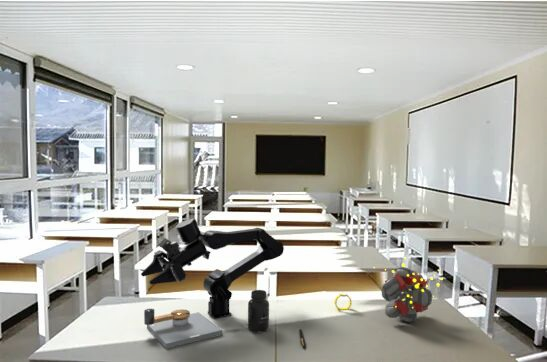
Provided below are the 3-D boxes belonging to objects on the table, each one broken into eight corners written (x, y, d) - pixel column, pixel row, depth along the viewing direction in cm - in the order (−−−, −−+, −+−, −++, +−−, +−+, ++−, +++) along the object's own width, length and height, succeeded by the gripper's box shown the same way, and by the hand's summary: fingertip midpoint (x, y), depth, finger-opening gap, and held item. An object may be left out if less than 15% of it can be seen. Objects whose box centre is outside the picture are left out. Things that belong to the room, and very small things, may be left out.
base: (198, 316, 147) (198, 306, 146) (222, 334, 132) (222, 323, 131) (146, 327, 137) (146, 317, 137) (166, 349, 122) (166, 337, 121)
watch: (349, 308, 156) (350, 292, 156) (351, 311, 153) (353, 295, 153) (333, 307, 156) (334, 291, 155) (335, 310, 153) (336, 294, 152)
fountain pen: (298, 329, 136) (298, 325, 136) (301, 329, 136) (301, 325, 136) (302, 350, 122) (302, 345, 122) (306, 350, 122) (306, 345, 122)
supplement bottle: (266, 333, 133) (266, 296, 132) (245, 331, 134) (245, 294, 133) (270, 325, 139) (271, 289, 139) (250, 323, 141) (250, 288, 140)
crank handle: (185, 311, 141) (185, 299, 140) (192, 317, 136) (192, 305, 135) (141, 320, 133) (141, 308, 132) (147, 327, 128) (147, 314, 127)
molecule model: (413, 341, 127) (415, 267, 126) (357, 321, 143) (358, 255, 142) (453, 320, 144) (454, 255, 143) (398, 304, 159) (400, 245, 158)
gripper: (169, 228, 147) (127, 250, 140) (189, 238, 131) (143, 264, 124) (181, 255, 150) (141, 279, 143) (202, 268, 135) (158, 295, 128)
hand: (145, 278), depth 134 cm, fingers open, 9 cm apart
